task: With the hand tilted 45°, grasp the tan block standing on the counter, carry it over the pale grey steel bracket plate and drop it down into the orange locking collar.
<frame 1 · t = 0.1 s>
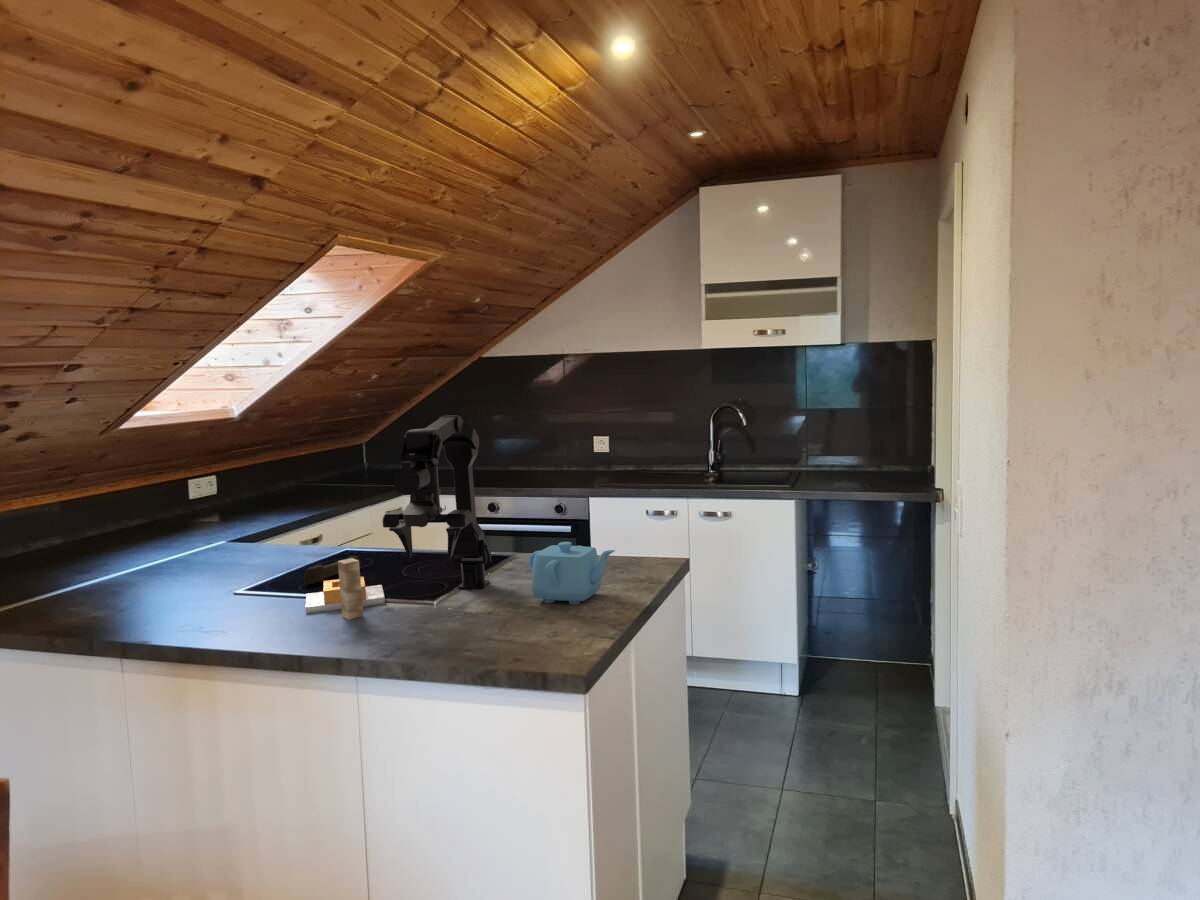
hand: (430, 557, 191), 15 cm above the worktop, tool pointing down, fingers open, 9 cm apart
teapot: (574, 599, 206), on the worktop
hand tool: (333, 578, 236), on the worktop
bracket plate: (345, 601, 212), on the worktop
tan block: (352, 616, 200), on the worktop
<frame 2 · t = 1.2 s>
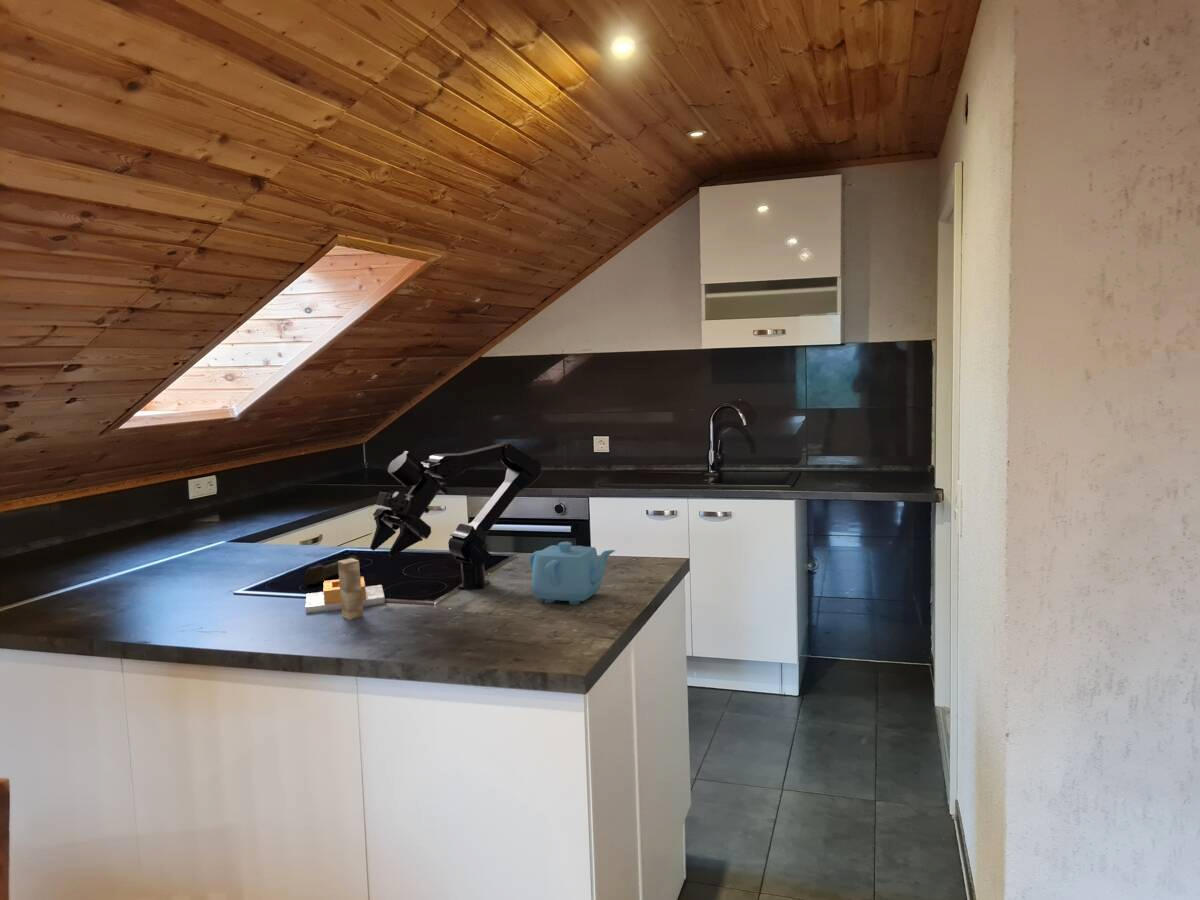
hand: (380, 552, 203), 13 cm above the worktop, tool tilted 45°, fingers open, 9 cm apart
nothing on the worktop moved.
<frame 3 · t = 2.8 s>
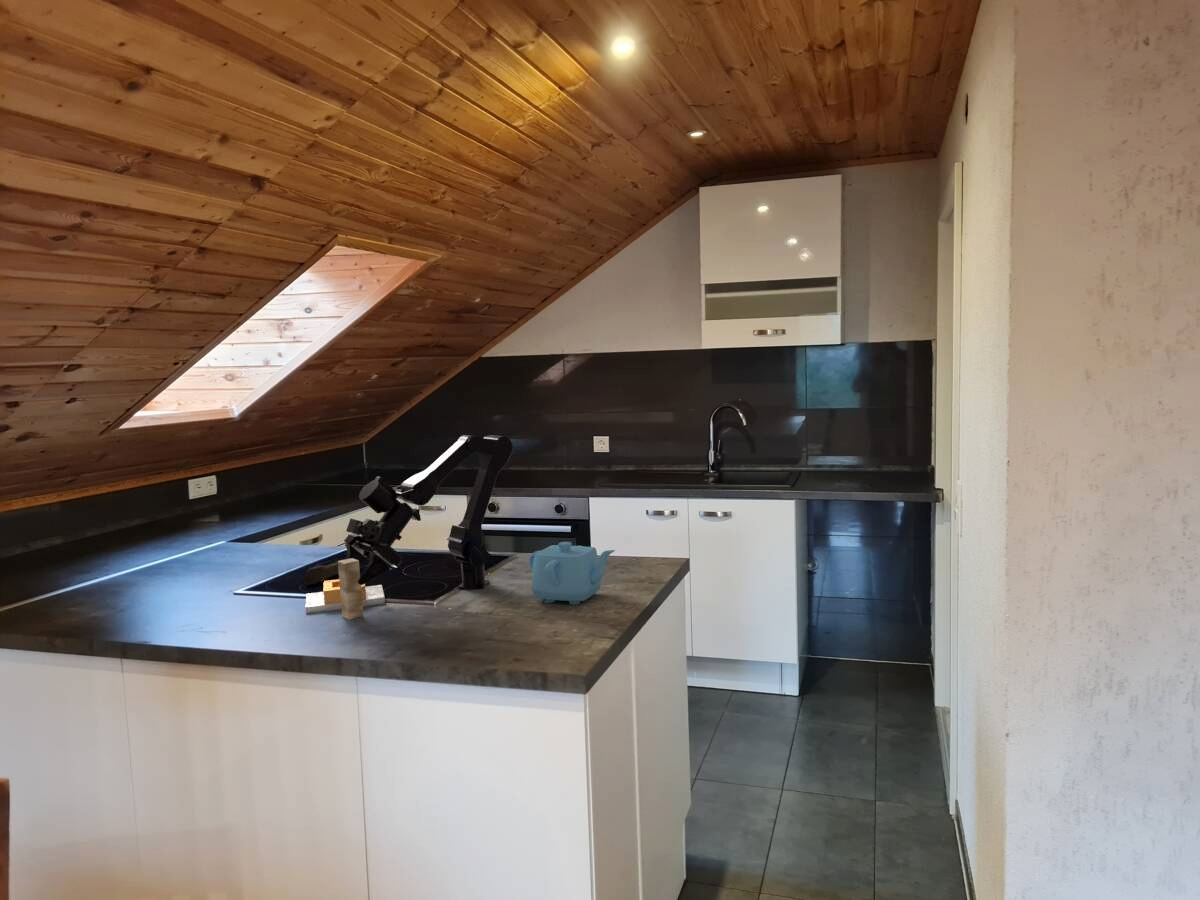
hand: (350, 580, 199), 8 cm above the worktop, tool tilted 45°, fingers open, 9 cm apart
nothing on the worktop moved.
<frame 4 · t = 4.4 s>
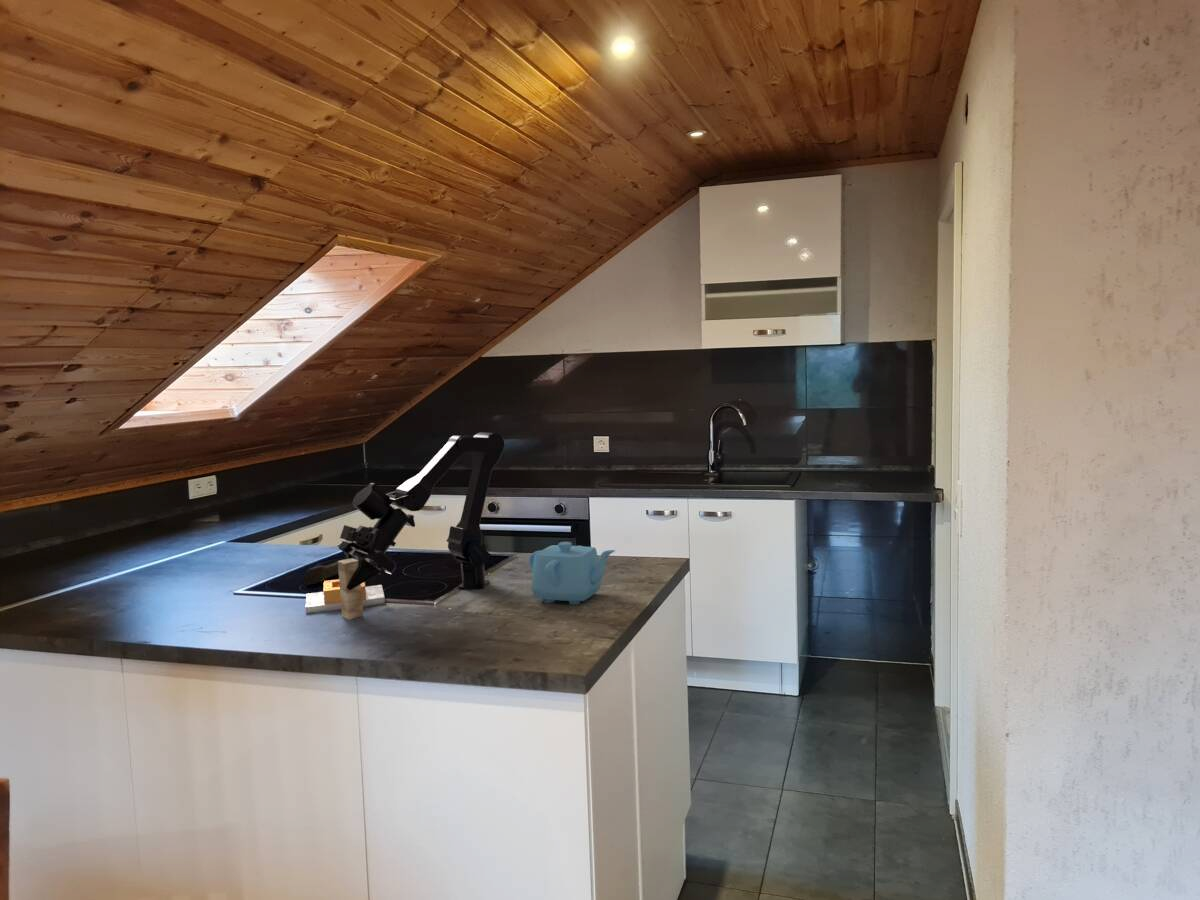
hand: (344, 587, 198), 7 cm above the worktop, tool tilted 45°, fingers closed on tan block, 3 cm apart
tan block: (352, 616, 200), on the worktop, touching gripper
everything else where it was.
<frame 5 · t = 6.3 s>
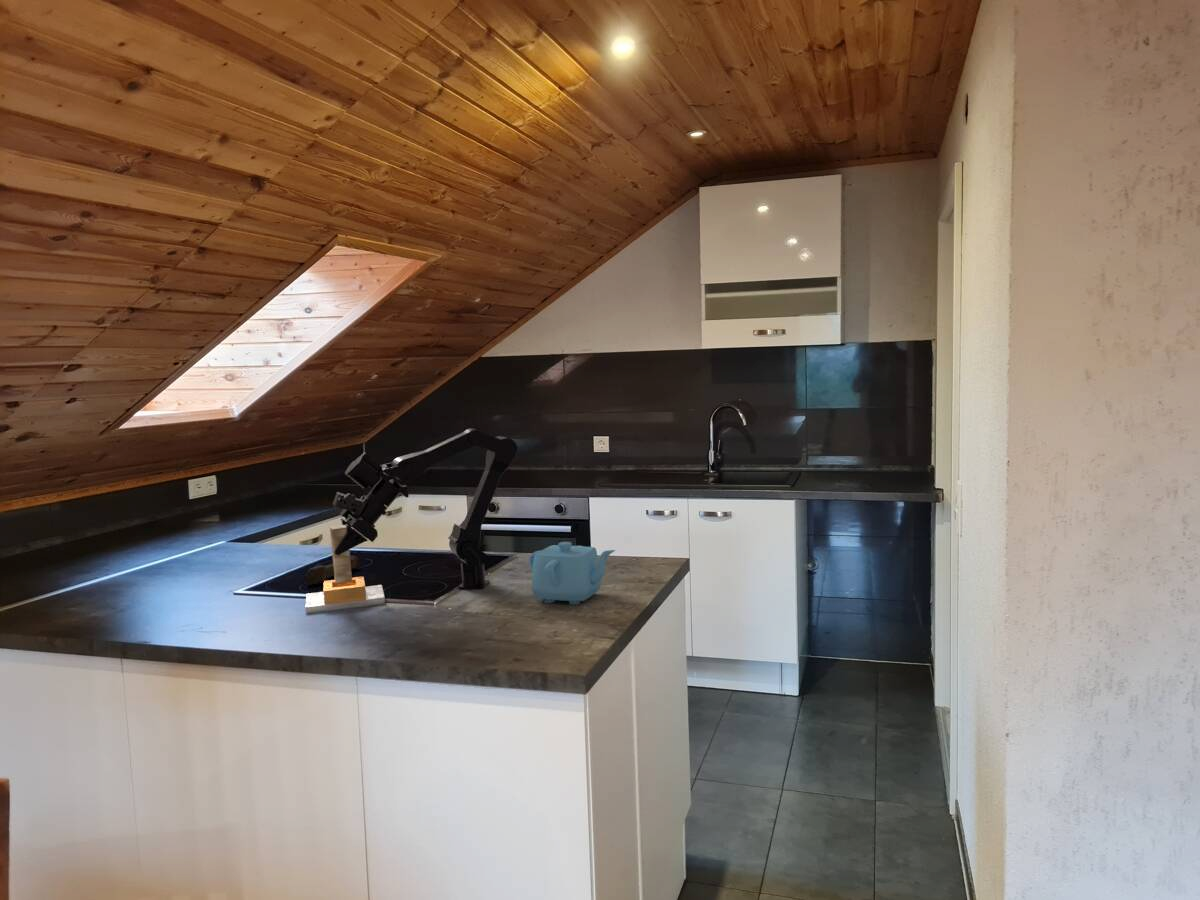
hand: (334, 552, 205), 13 cm above the worktop, tool tilted 45°, fingers closed on tan block, 3 cm apart
tan block: (343, 580, 207), point 6 cm above the worktop, touching gripper
everything else where it was.
when the fingers open (10 cm above the worktop, at t = 8.1 s): tan block drops 1 cm, resting on bracket plate.
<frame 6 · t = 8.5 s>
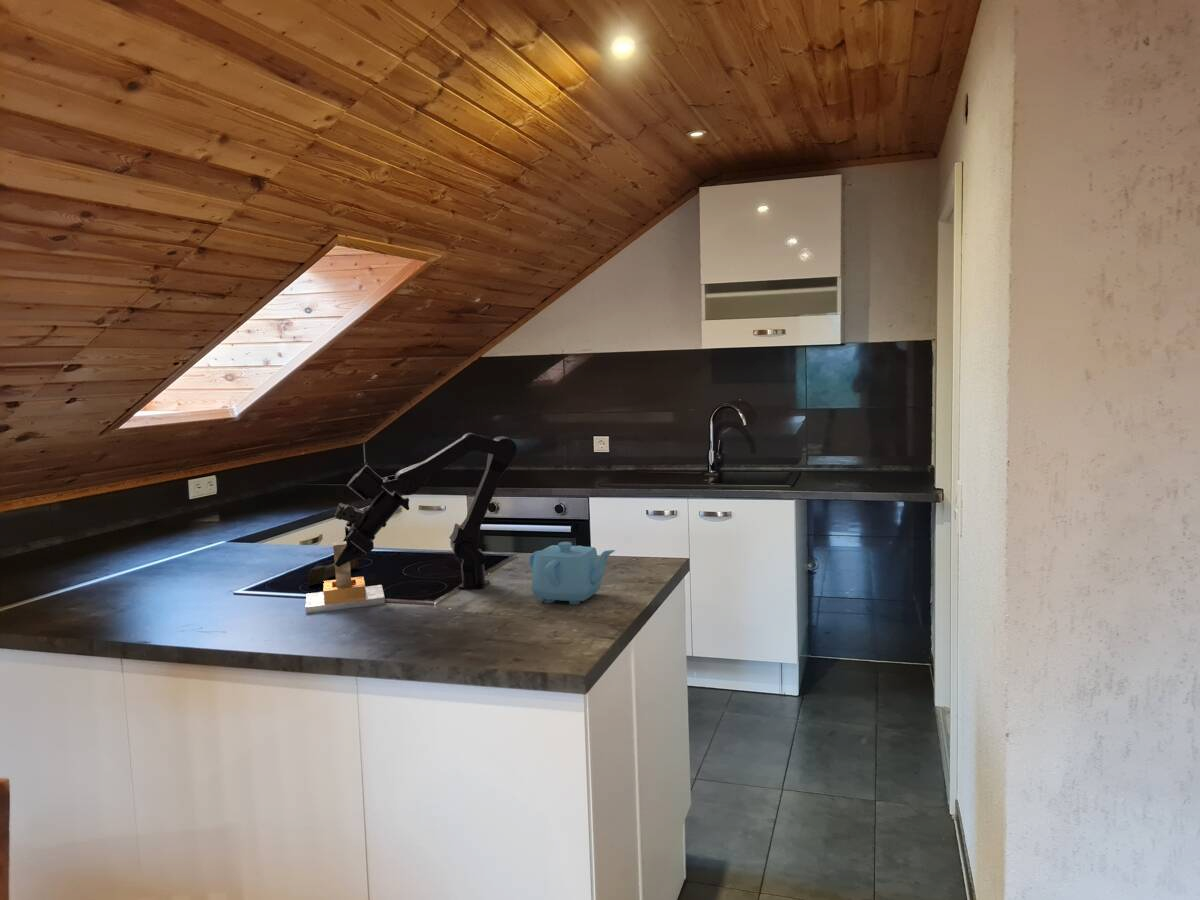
hand: (336, 561, 210), 10 cm above the worktop, tool tilted 45°, fingers open, 8 cm apart
tan block: (344, 595, 211), point 2 cm above the worktop, touching bracket plate
everything else where it was.
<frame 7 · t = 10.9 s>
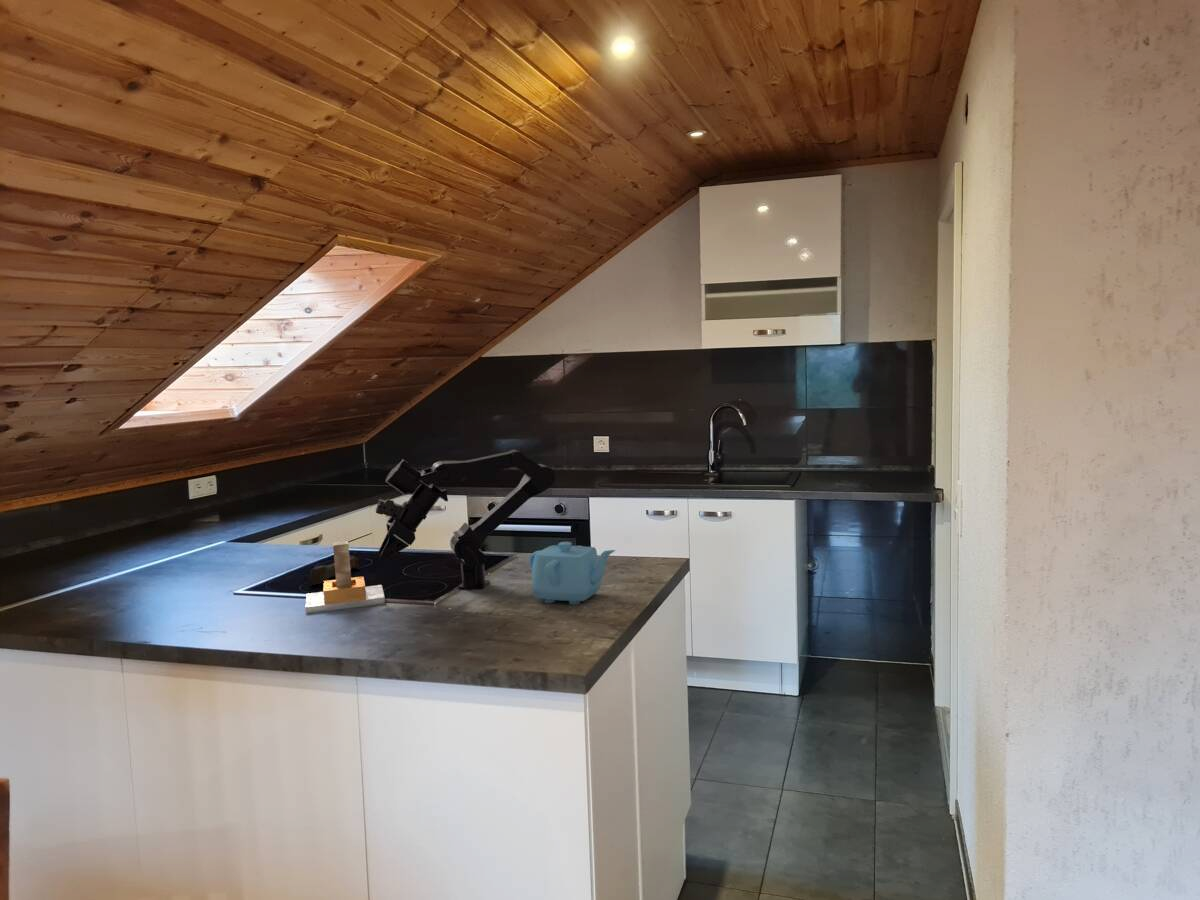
hand: (379, 557, 212), 10 cm above the worktop, tool tilted 40°, fingers open, 9 cm apart
nothing on the worktop moved.
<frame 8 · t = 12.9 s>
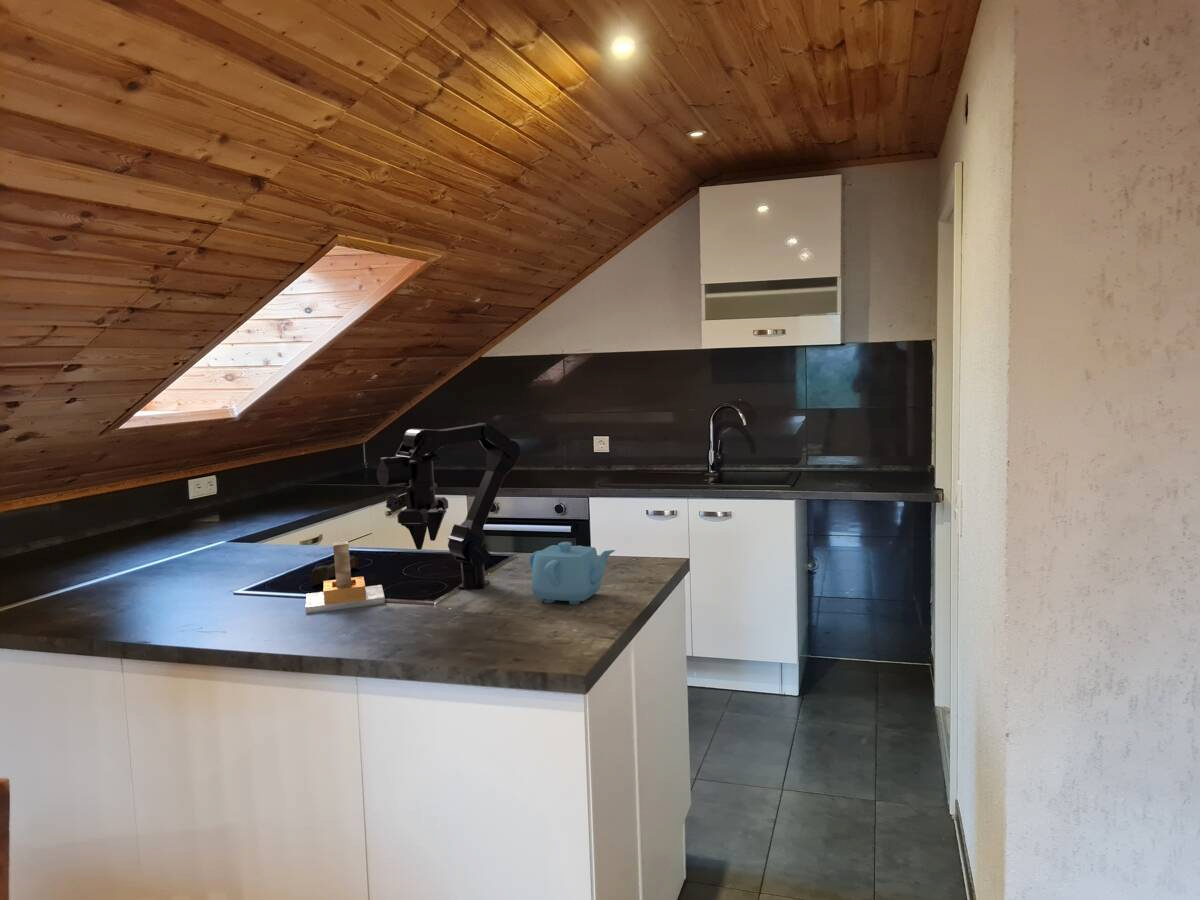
hand: (426, 544, 211), 13 cm above the worktop, tool pointing down, fingers open, 9 cm apart
at the end: tan block 0.1 cm off-centre on the bracket plate, point 1.5 cm above the bracket plate's base; tan block tilted 0°; the gripper is holding nothing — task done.
